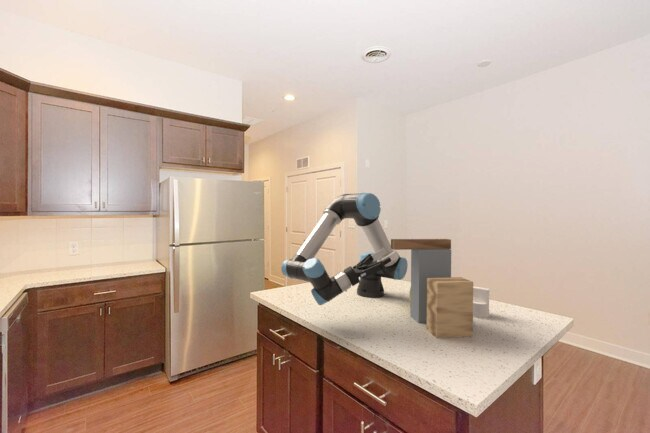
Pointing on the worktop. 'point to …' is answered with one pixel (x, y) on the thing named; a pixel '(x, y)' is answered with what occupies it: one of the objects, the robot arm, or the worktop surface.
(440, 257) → the slate-grey stand
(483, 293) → the cylinder with rectangular tab
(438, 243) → the walnut block
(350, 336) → the worktop surface
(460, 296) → the oak block
